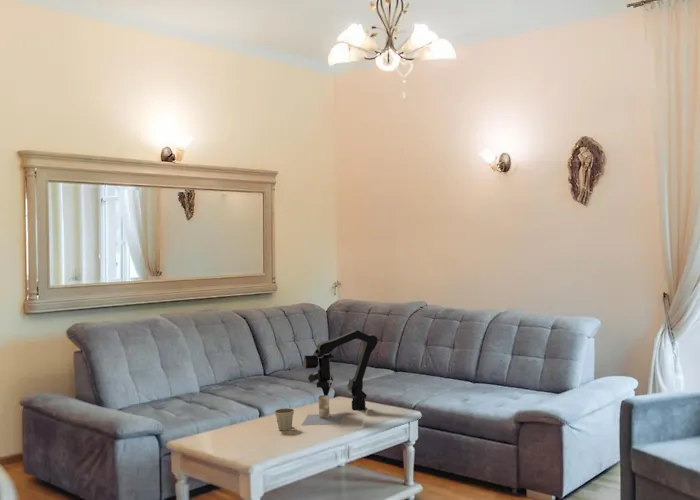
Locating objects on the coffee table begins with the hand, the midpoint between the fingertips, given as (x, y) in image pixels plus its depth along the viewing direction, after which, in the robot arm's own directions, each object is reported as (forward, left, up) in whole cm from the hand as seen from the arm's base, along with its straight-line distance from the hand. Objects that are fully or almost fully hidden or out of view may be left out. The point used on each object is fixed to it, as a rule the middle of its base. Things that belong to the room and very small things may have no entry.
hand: (326, 398), depth 352 cm
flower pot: (+16, +27, -8) cm, 33 cm away
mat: (0, +13, -8) cm, 15 cm away
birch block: (0, +8, -7) cm, 11 cm away
